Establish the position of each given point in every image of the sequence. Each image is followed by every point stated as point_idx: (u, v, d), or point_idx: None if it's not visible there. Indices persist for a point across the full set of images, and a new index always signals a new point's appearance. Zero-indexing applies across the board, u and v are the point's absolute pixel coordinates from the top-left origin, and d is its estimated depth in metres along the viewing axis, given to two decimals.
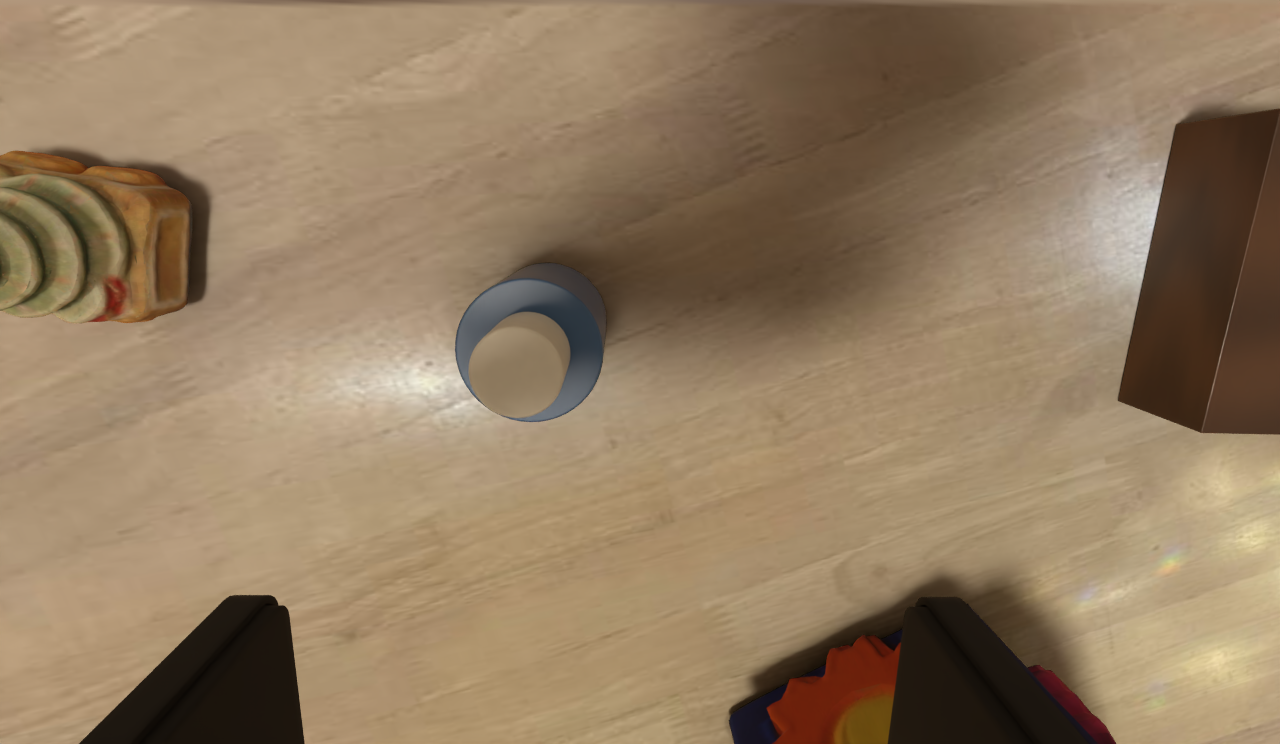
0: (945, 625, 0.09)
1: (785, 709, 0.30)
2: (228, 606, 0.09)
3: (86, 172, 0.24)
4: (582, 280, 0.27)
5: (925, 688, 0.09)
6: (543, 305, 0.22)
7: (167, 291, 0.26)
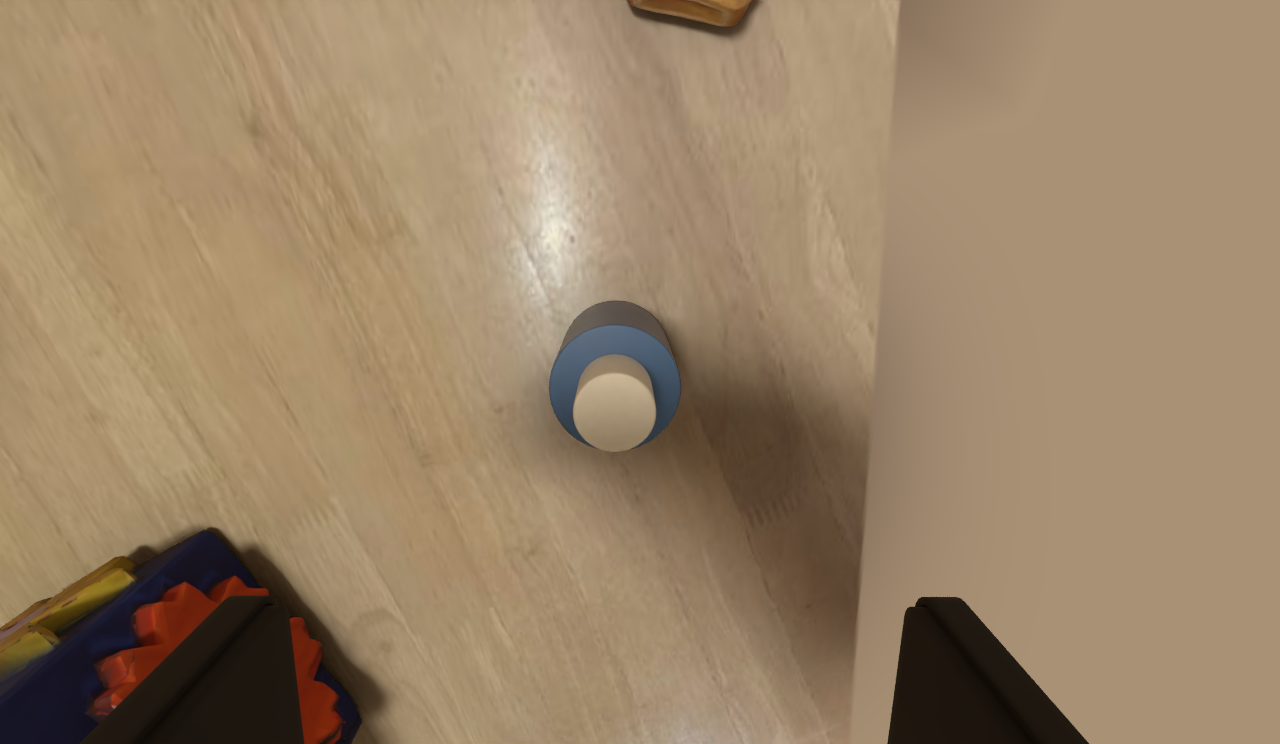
0: (945, 625, 0.09)
1: None
2: (228, 606, 0.09)
3: None
4: None
5: (925, 688, 0.09)
6: (656, 401, 0.25)
7: (649, 0, 0.26)
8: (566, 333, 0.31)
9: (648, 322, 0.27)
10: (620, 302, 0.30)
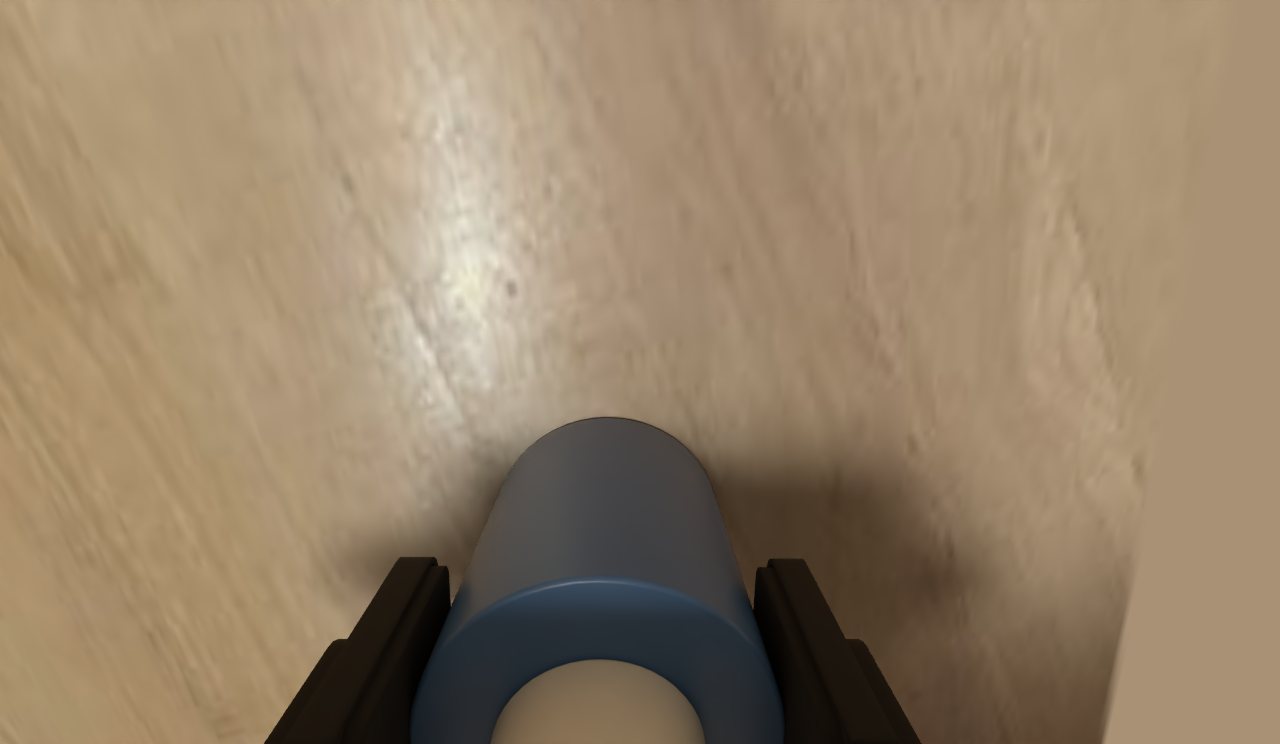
0: (780, 581, 0.10)
1: None
2: (403, 565, 0.10)
3: None
4: None
5: (764, 639, 0.10)
6: None
7: None
8: (501, 488, 0.14)
9: (685, 506, 0.11)
10: (616, 425, 0.14)
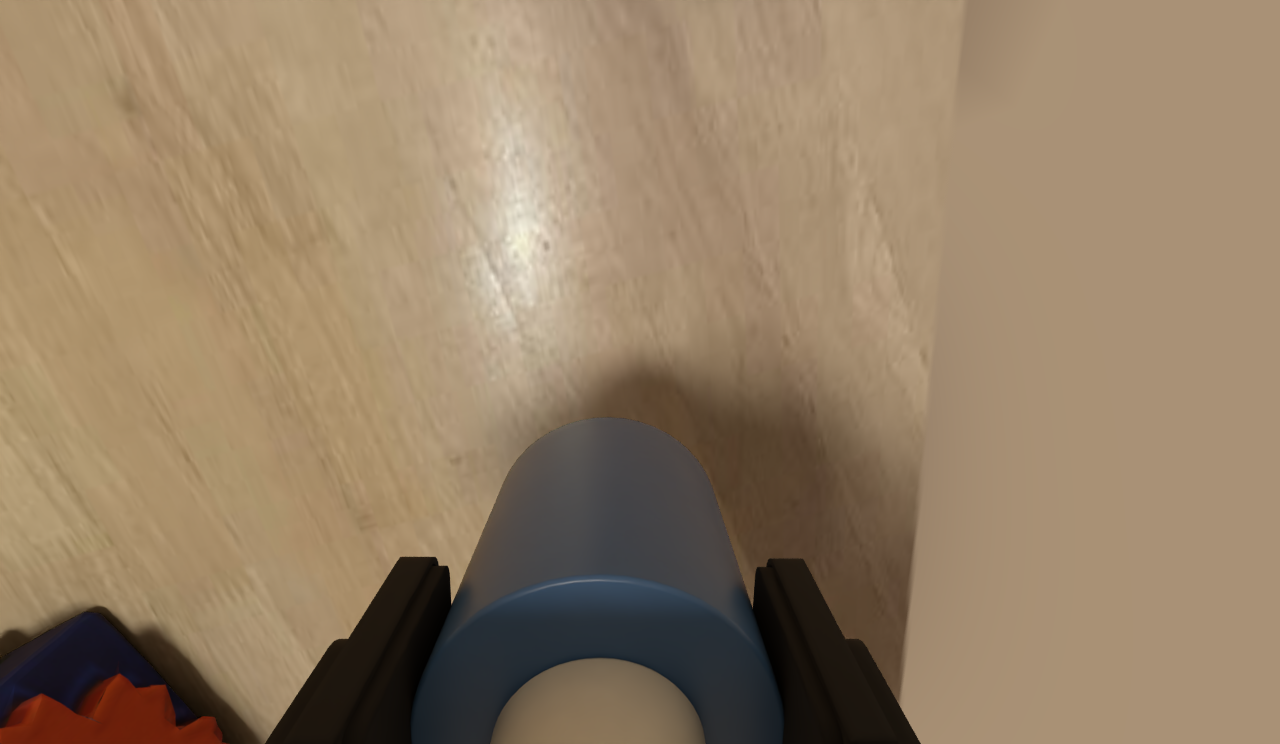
0: (780, 581, 0.10)
1: (123, 702, 0.24)
2: (404, 565, 0.10)
3: None
4: None
5: (763, 638, 0.10)
6: None
7: None
8: None
9: (685, 506, 0.11)
10: (616, 424, 0.14)
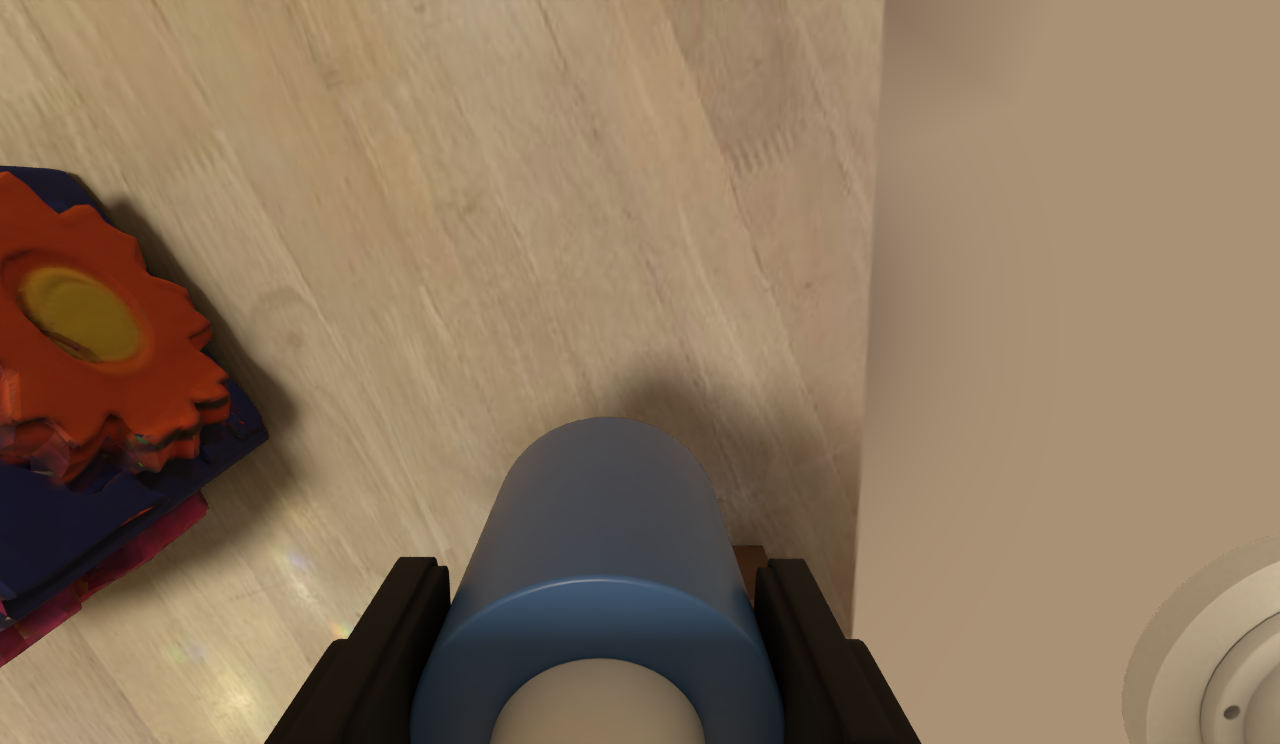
0: (780, 581, 0.10)
1: (92, 223, 0.24)
2: (403, 565, 0.10)
3: None
4: None
5: (764, 639, 0.10)
6: None
7: None
8: (501, 487, 0.14)
9: (685, 505, 0.11)
10: (616, 424, 0.14)
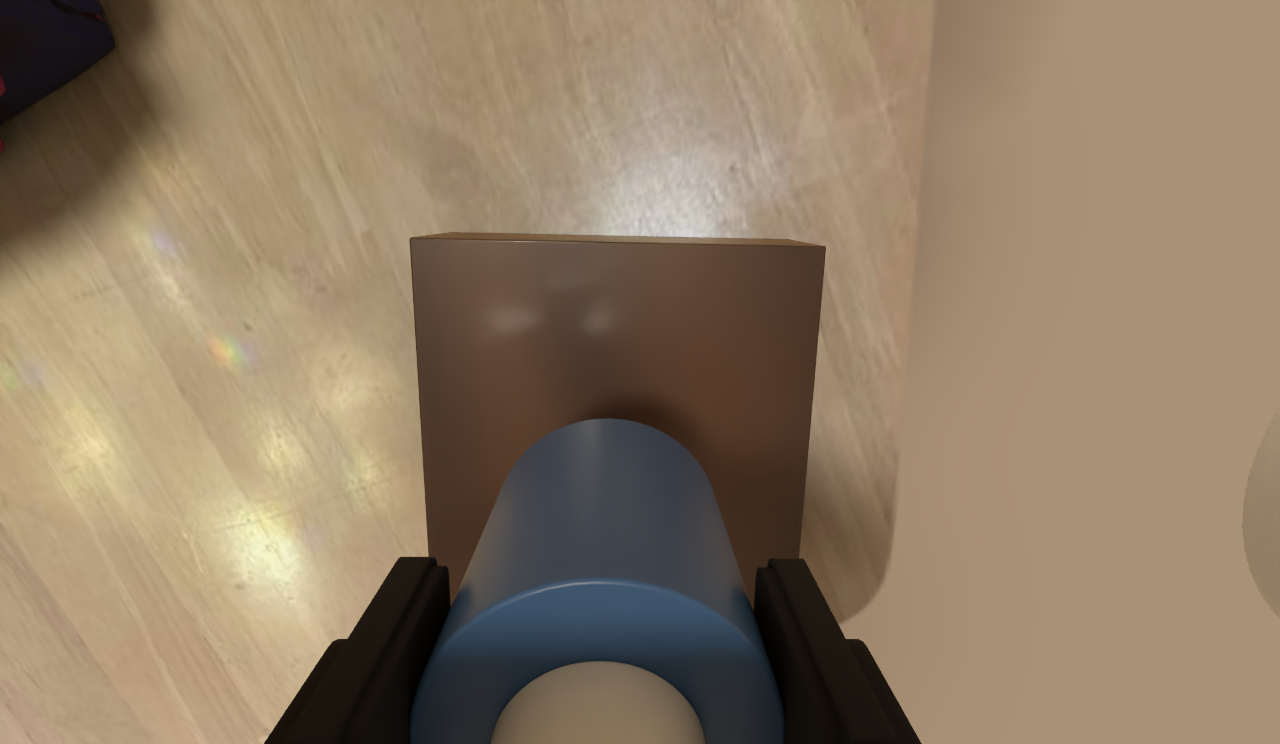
0: (780, 581, 0.10)
1: None
2: (403, 565, 0.10)
3: None
4: None
5: (764, 638, 0.10)
6: None
7: None
8: (501, 488, 0.14)
9: (685, 507, 0.11)
10: (616, 425, 0.14)
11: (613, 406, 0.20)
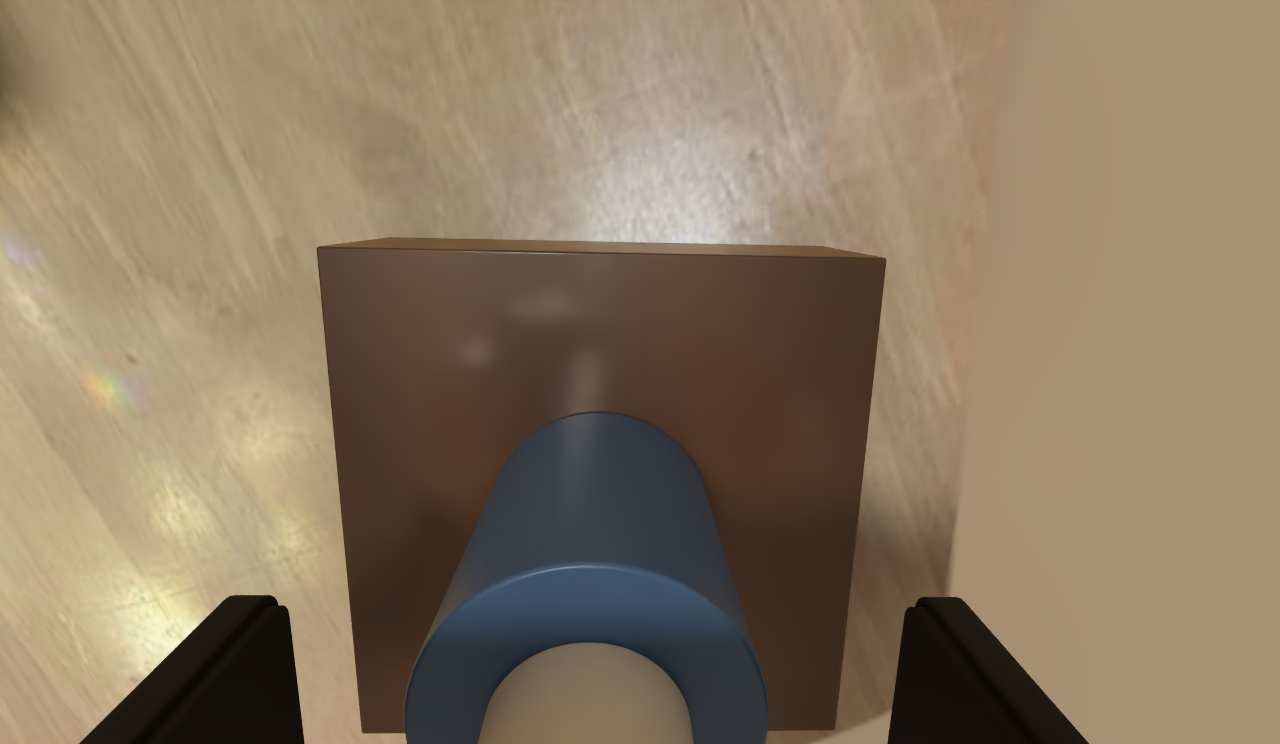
0: (945, 625, 0.09)
1: None
2: (228, 606, 0.09)
3: None
4: None
5: (925, 688, 0.09)
6: None
7: None
8: None
9: (673, 497, 0.11)
10: (608, 419, 0.14)
11: None
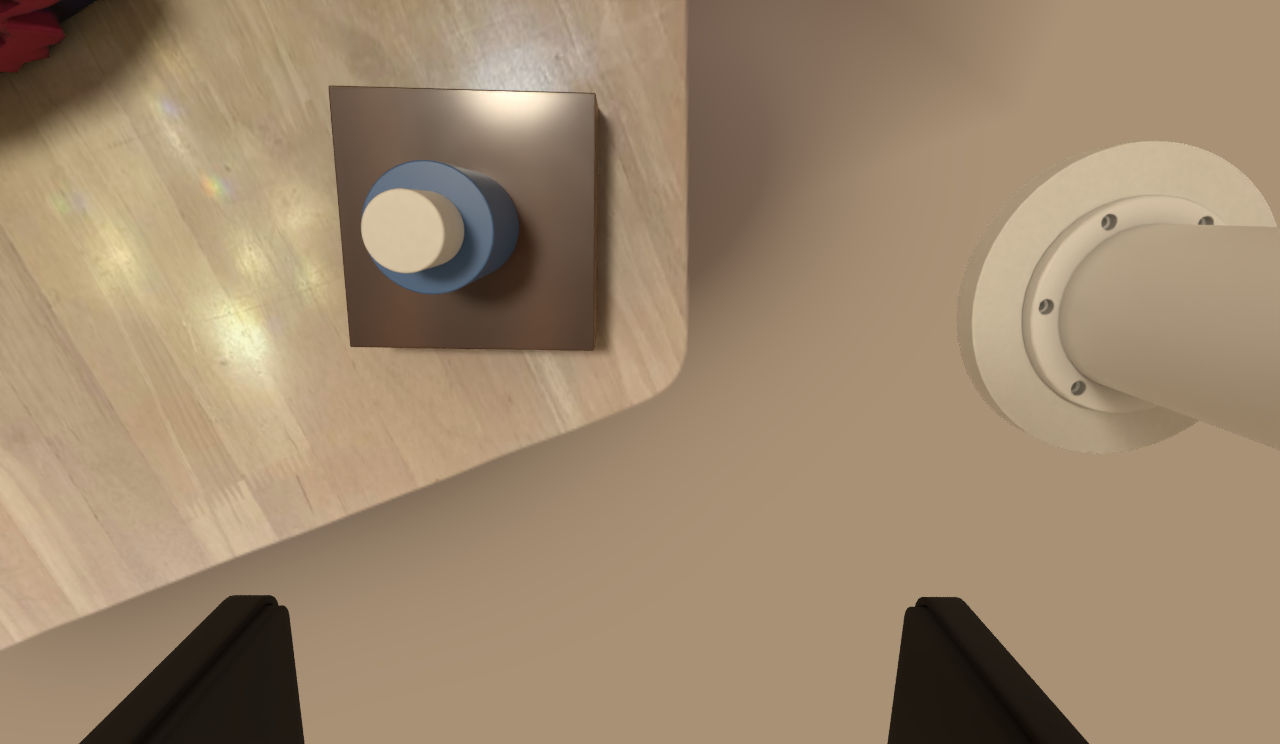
0: (945, 625, 0.09)
1: None
2: (228, 606, 0.09)
3: None
4: (502, 261, 0.30)
5: (925, 688, 0.09)
6: (470, 242, 0.25)
7: None
8: None
9: (476, 175, 0.27)
10: None
11: None
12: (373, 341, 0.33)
